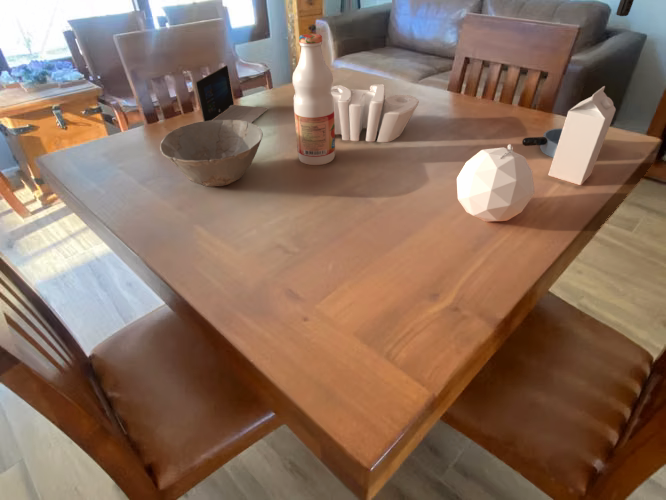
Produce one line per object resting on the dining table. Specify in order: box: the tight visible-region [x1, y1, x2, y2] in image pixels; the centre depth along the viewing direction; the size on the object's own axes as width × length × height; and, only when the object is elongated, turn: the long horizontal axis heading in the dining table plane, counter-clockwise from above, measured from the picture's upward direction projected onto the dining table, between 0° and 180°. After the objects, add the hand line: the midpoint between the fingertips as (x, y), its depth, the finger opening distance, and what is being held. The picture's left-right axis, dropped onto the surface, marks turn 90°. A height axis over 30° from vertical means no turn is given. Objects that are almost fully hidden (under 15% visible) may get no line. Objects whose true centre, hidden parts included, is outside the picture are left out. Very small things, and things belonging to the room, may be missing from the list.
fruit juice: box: [291, 33, 336, 166], centre depth 99 cm, size 9×9×28 cm
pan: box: [521, 127, 563, 158], centre depth 106 cm, size 18×12×4 cm
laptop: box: [195, 64, 269, 124], centre depth 126 cm, size 18×12×13 cm
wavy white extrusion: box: [293, 83, 420, 143], centre depth 118 cm, size 35×16×11 cm, turn 77°
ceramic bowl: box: [159, 120, 264, 188], centre depth 97 cm, size 22×23×10 cm
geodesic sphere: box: [456, 143, 536, 223], centre depth 81 cm, size 15×14×14 cm
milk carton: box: [547, 85, 617, 186], centre depth 91 cm, size 7×7×19 cm
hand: (621, 15), depth 105 cm, fingers closed
